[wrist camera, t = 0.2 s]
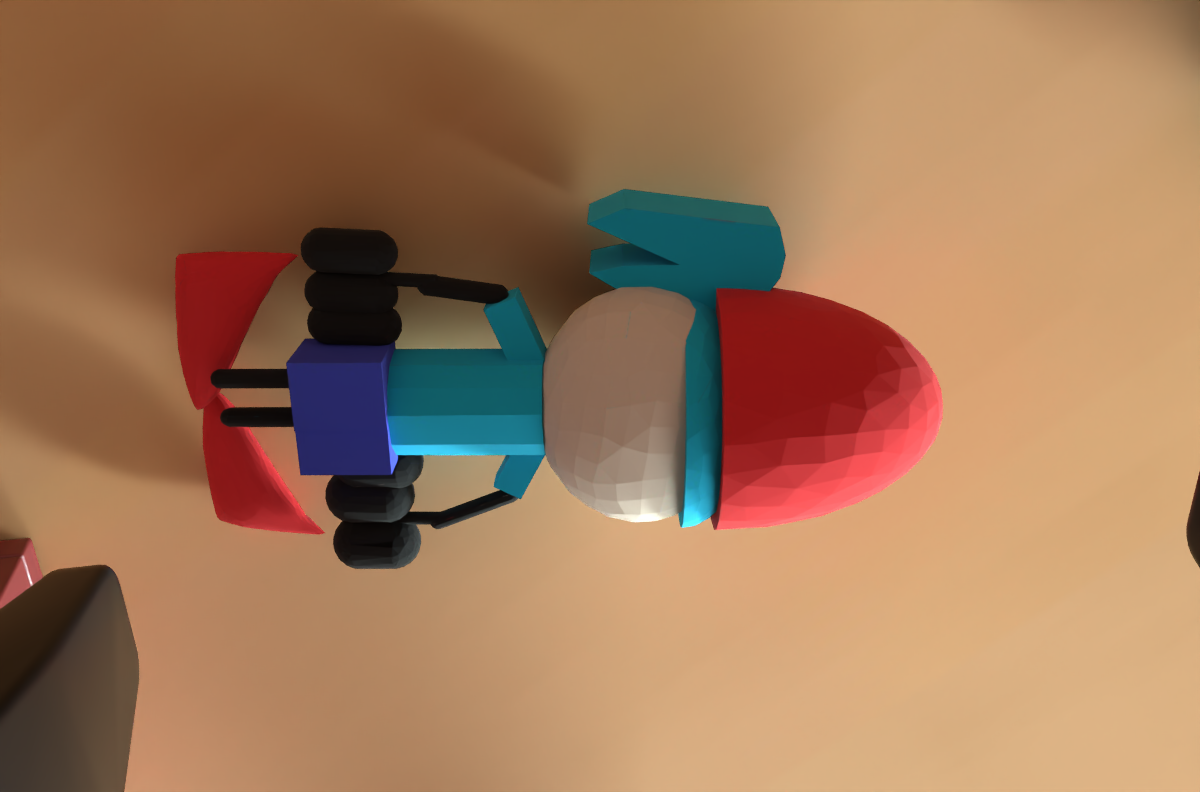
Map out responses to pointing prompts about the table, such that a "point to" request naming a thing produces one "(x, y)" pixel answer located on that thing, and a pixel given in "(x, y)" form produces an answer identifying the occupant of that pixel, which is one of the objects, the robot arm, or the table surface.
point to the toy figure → (562, 384)
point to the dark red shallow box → (17, 568)
